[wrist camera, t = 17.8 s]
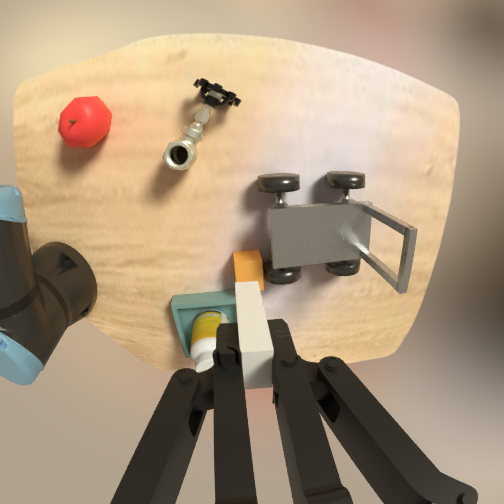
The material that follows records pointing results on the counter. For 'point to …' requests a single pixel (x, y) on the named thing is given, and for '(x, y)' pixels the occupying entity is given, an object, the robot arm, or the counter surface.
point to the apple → (84, 122)
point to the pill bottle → (205, 337)
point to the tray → (193, 304)
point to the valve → (198, 124)
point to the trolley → (329, 232)
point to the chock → (248, 267)
